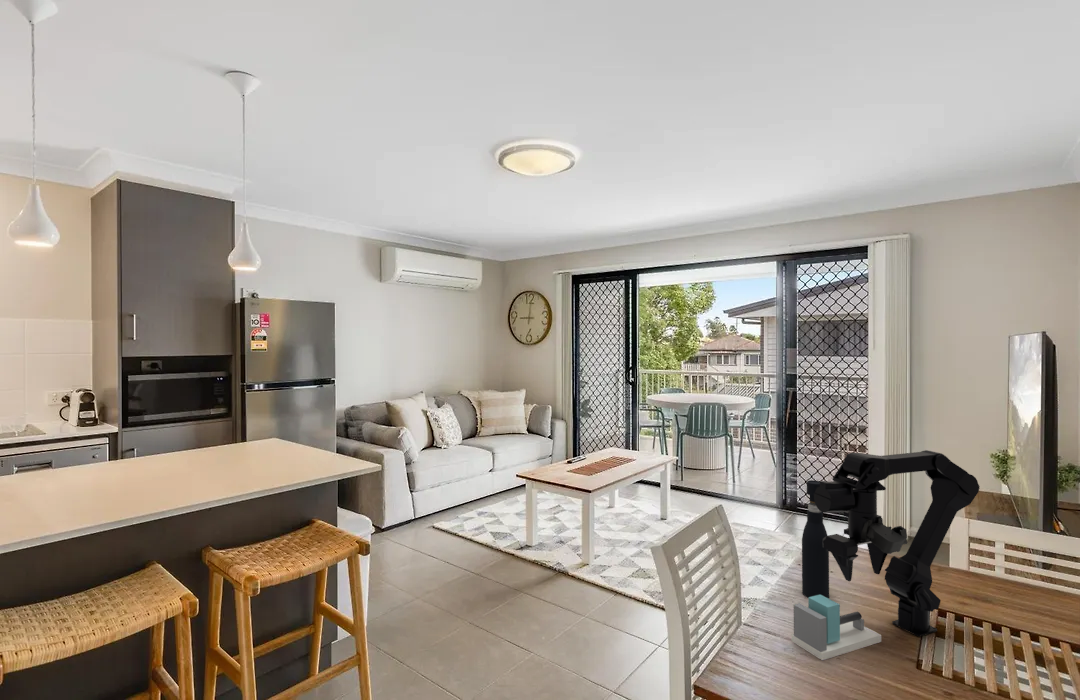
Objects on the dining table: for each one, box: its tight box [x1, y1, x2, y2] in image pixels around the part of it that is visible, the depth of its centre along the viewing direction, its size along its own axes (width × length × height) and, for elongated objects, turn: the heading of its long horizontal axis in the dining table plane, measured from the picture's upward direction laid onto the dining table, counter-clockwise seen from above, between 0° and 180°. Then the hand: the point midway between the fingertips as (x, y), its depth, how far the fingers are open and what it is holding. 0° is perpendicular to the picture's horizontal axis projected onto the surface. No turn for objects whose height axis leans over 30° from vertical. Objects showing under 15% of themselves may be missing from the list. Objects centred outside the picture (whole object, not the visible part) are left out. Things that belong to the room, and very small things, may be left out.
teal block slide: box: [791, 602, 882, 661], centre depth 121 cm, size 18×8×8 cm, turn 112°
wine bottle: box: [801, 480, 830, 599], centre depth 143 cm, size 6×6×30 cm
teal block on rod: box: [807, 595, 841, 644], centre depth 120 cm, size 4×5×8 cm
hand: (862, 577), depth 124 cm, fingers open, 9 cm apart
